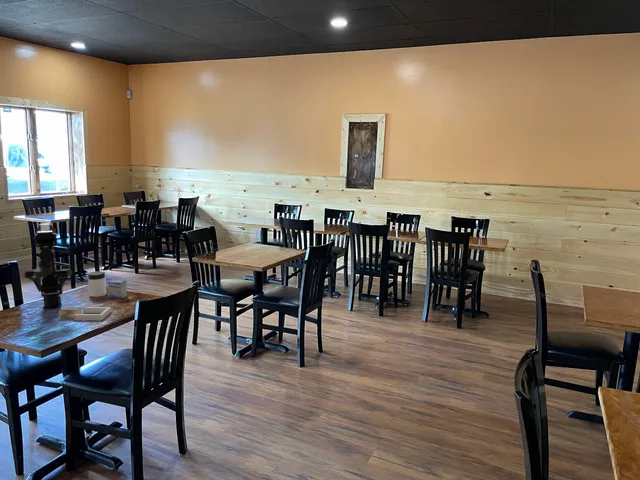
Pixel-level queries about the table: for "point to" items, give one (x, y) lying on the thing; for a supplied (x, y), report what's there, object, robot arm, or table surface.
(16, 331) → the table surface
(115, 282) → the medicine box
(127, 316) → the table surface
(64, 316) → the grey beige block
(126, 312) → the table surface
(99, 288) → the jar
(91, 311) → the frame
